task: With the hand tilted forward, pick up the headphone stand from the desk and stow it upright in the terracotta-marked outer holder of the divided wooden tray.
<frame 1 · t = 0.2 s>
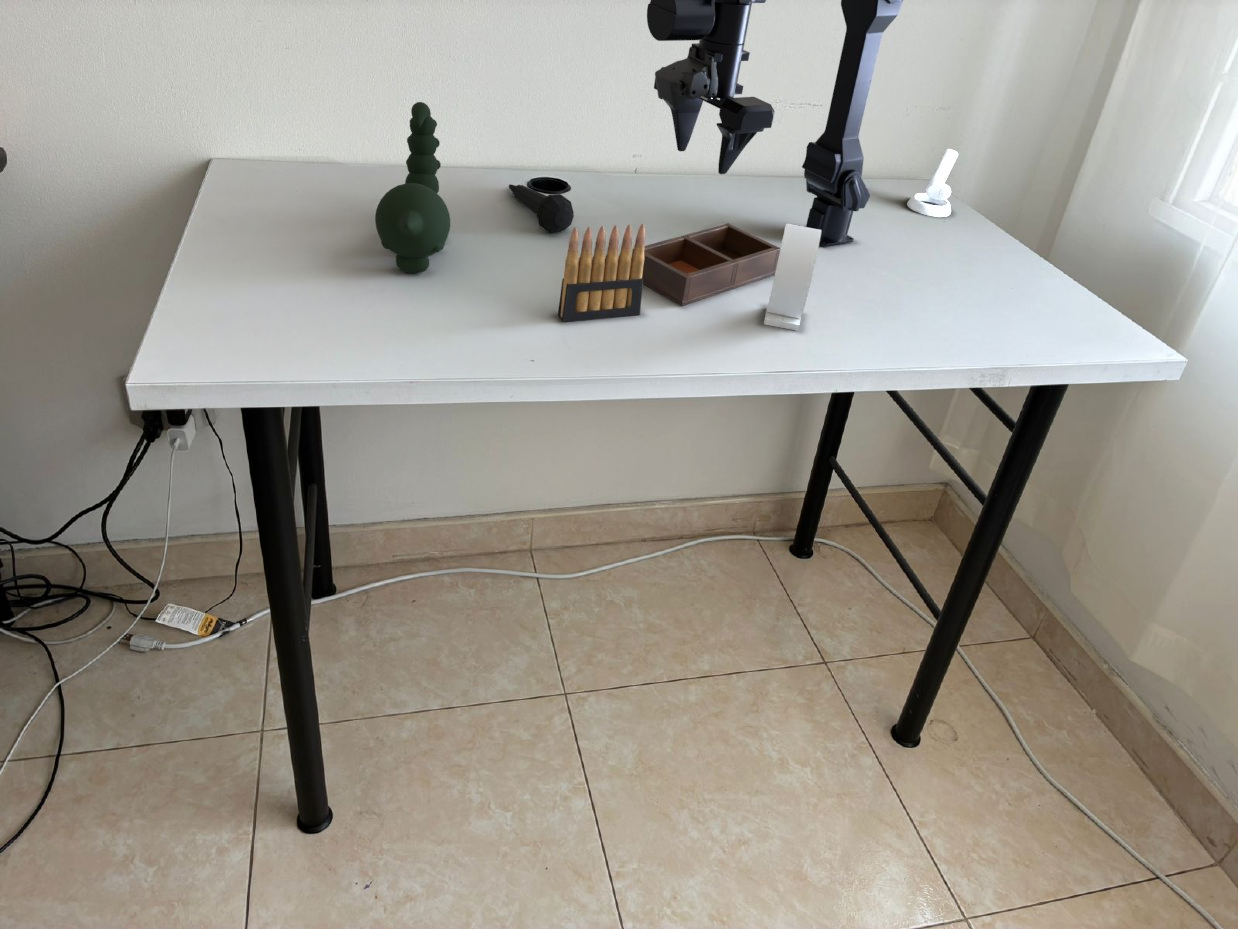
hand: (701, 161, 128), 15 cm above the table, tool pointing down, fingers open, 9 cm apart
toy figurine: (417, 252, 130), on the table
headphone stand: (781, 322, 125), on the table
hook: (928, 209, 168), on the table
divided wooden tray: (703, 275, 134), on the table
ammunition clip: (599, 316, 120), on the table
microphone: (539, 214, 145), on the table
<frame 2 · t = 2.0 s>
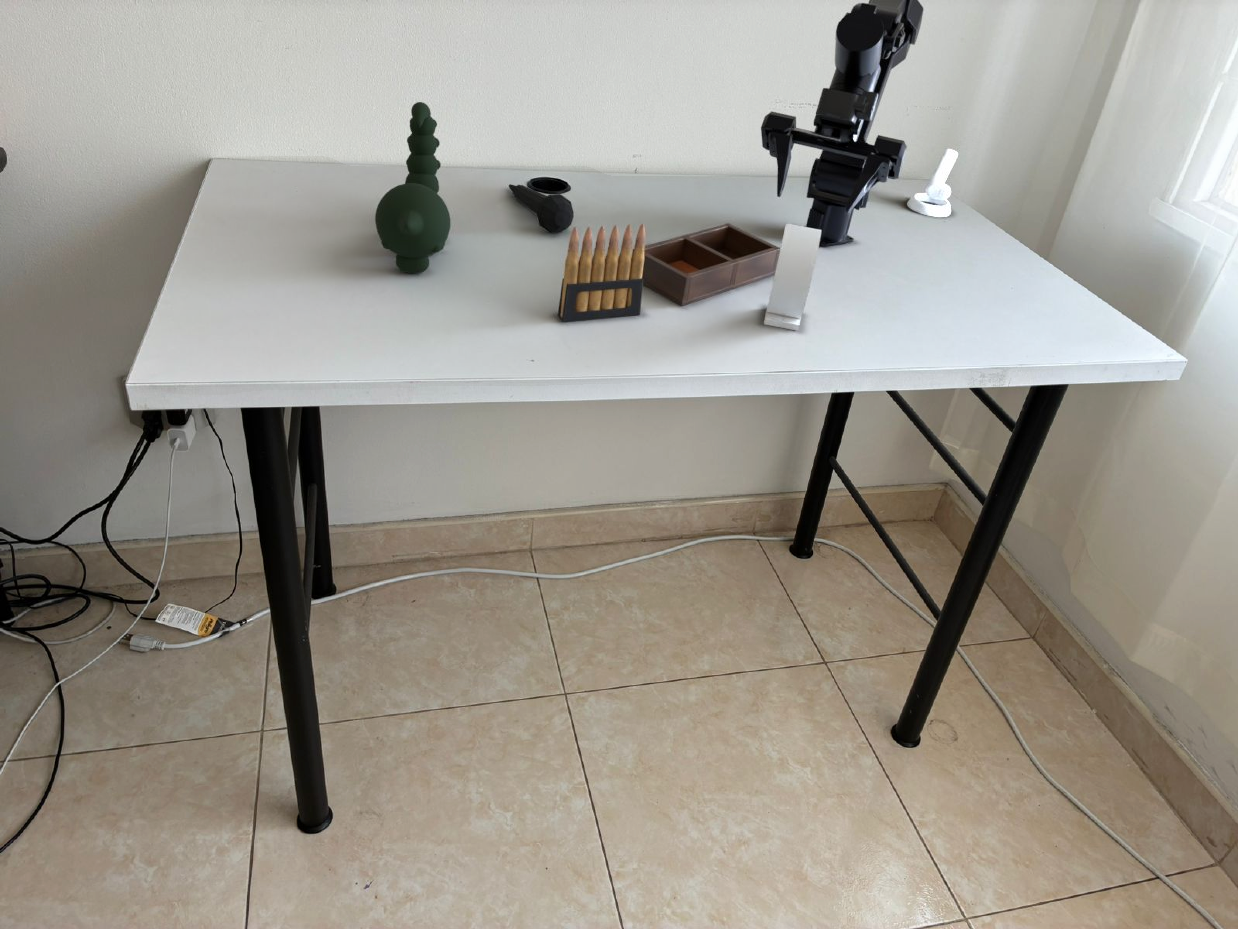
hand: (812, 203, 123), 13 cm above the table, tool tilted 45°, fingers open, 9 cm apart
nothing on the table moved.
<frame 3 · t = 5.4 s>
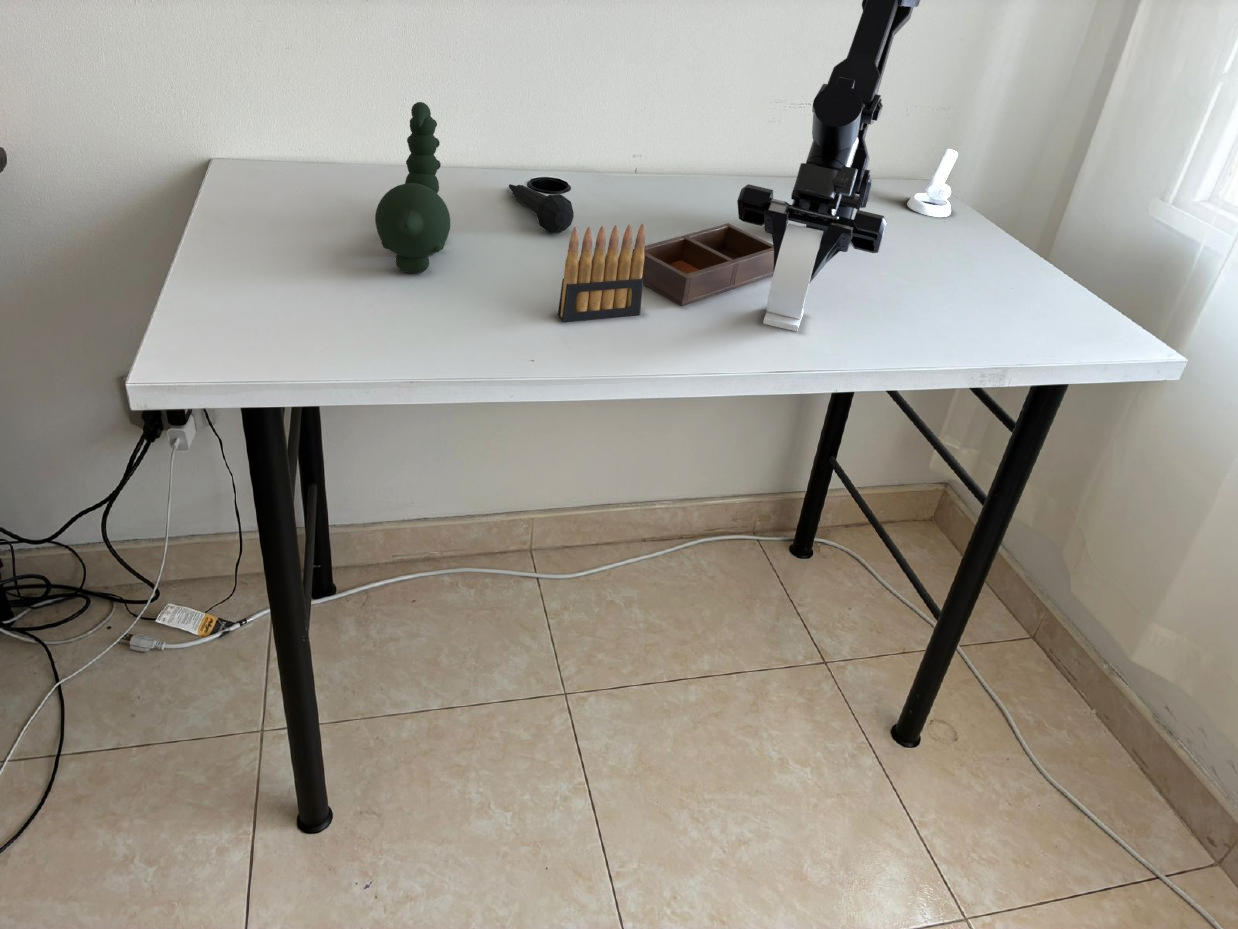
hand: (790, 278, 120), 7 cm above the table, tool tilted 45°, fingers closed on headphone stand, 4 cm apart
headphone stand: (782, 322, 125), on the table, touching gripper
everything else where it was.
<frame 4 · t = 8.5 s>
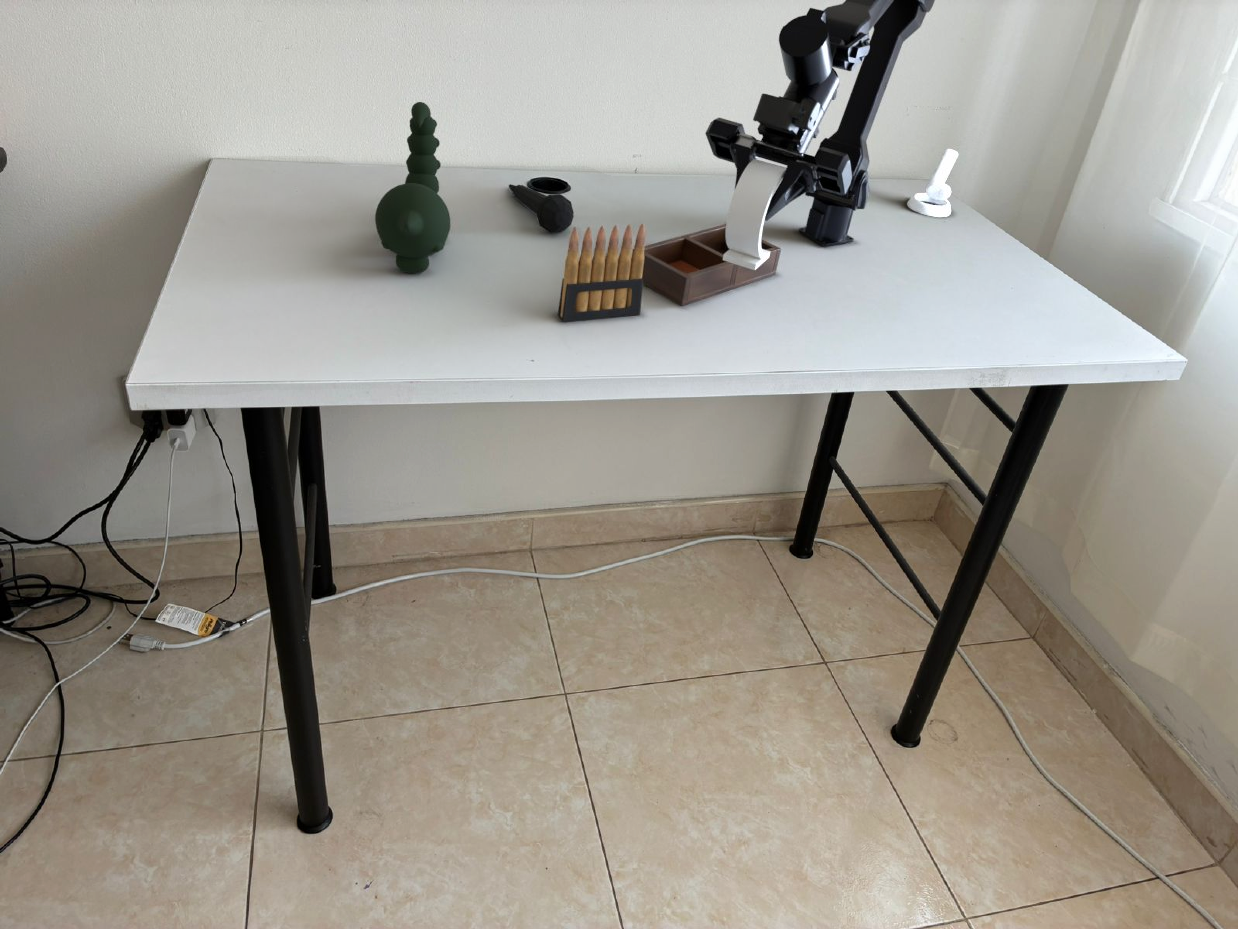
hand: (749, 214, 118), 13 cm above the table, tool tilted 45°, fingers closed on headphone stand, 4 cm apart
headphone stand: (744, 261, 123), point 6 cm above the table, touching gripper
everything else where it was.
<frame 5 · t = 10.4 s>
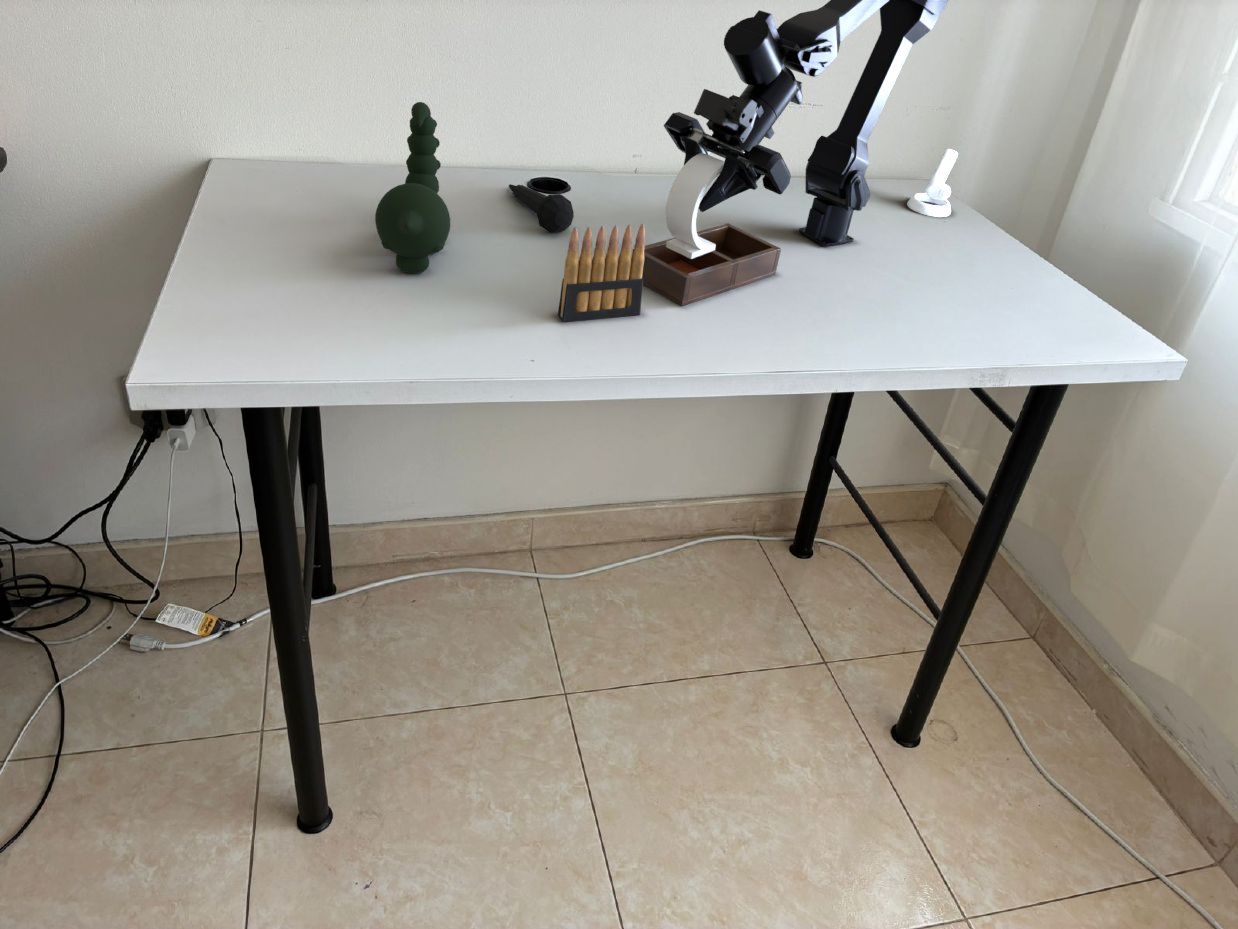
hand: (688, 204, 123), 12 cm above the table, tool tilted 45°, fingers closed on headphone stand, 4 cm apart
headphone stand: (687, 250, 128), point 5 cm above the table, touching gripper
everything else where it was.
when the fingers open (7 cm above the table, at t = 11.9 s): headphone stand stays where it is, resting on divided wooden tray.
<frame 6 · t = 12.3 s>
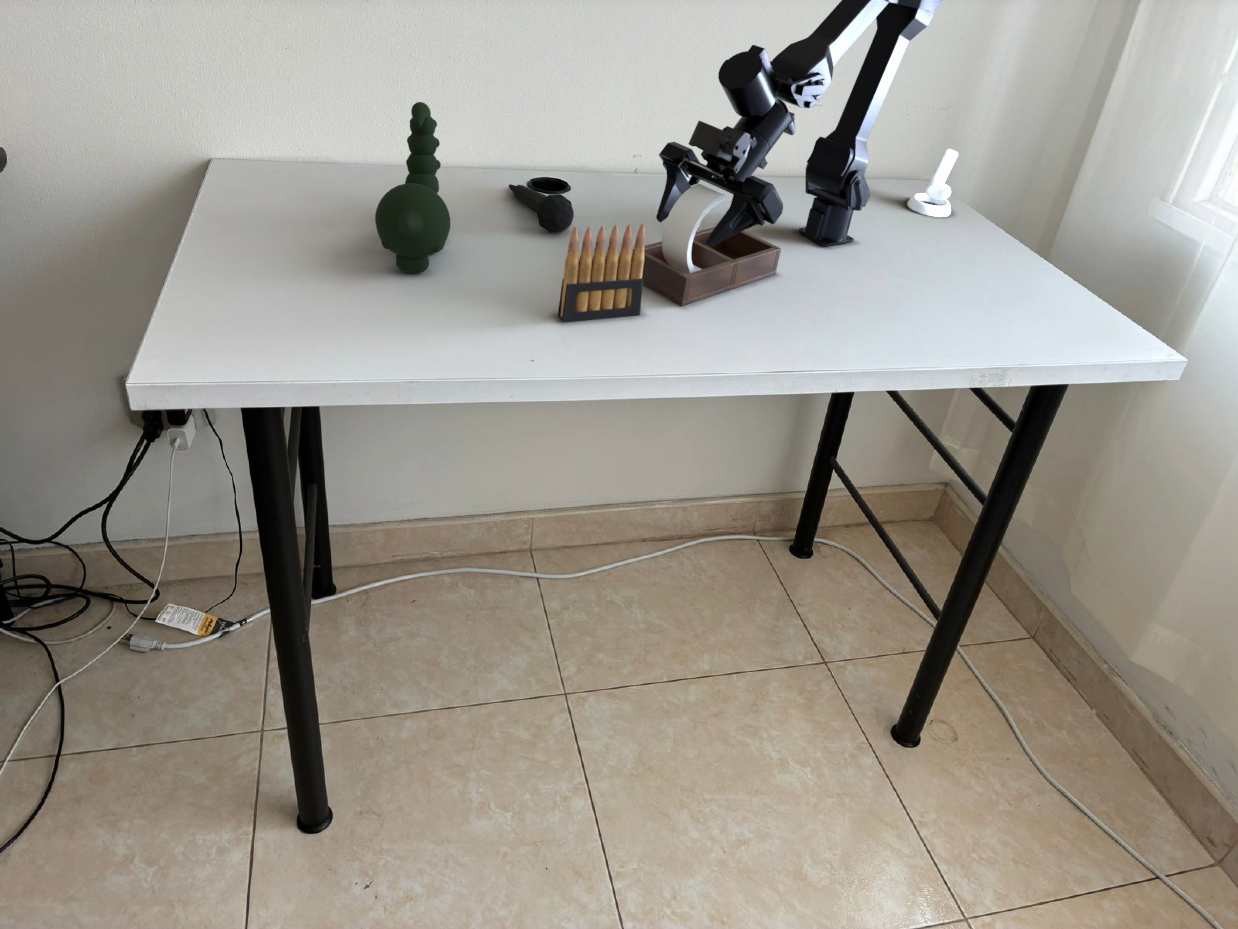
hand: (682, 232, 125), 8 cm above the table, tool tilted 45°, fingers open, 9 cm apart
headphone stand: (682, 278, 131), point 1 cm above the table, touching divided wooden tray
everything else where it was.
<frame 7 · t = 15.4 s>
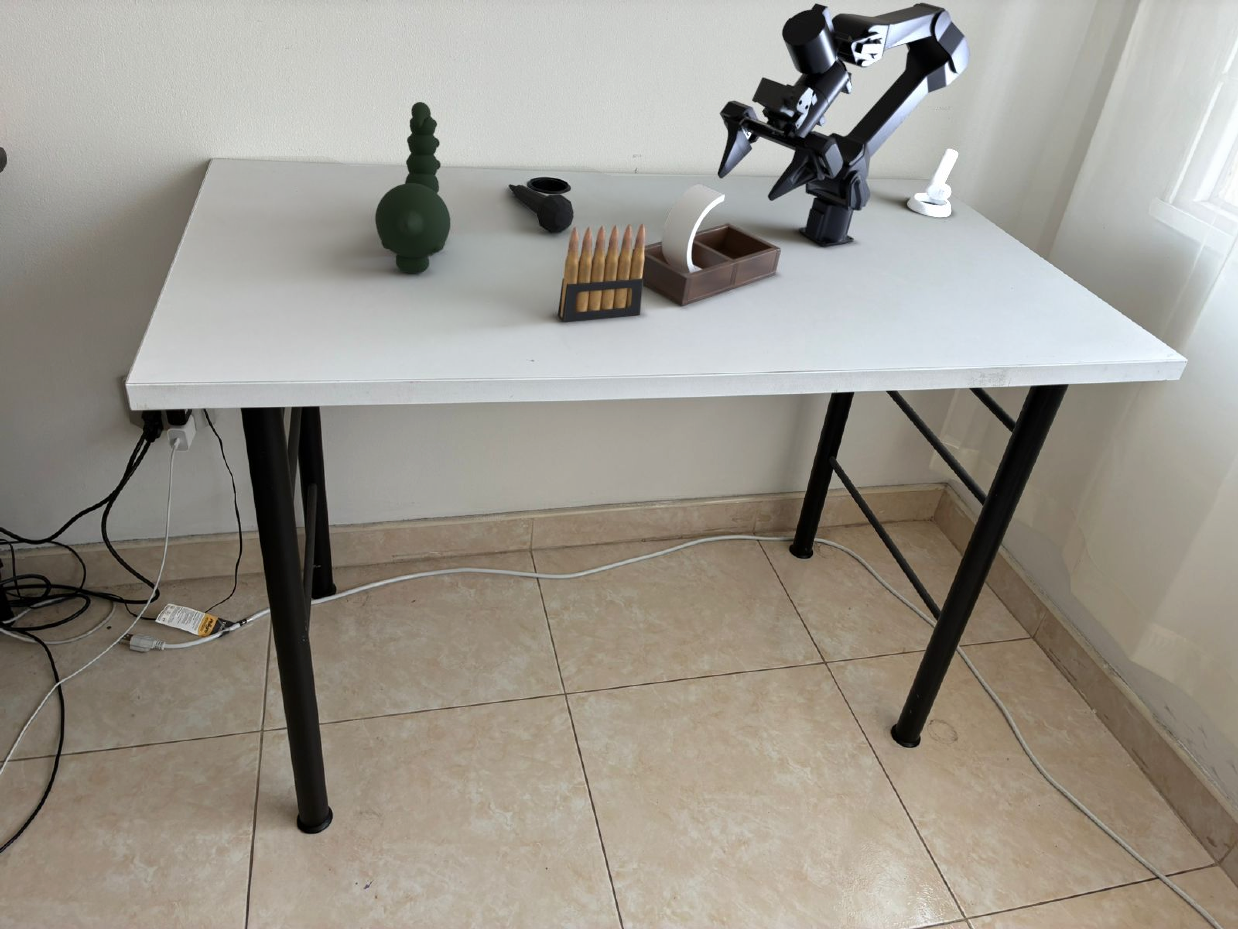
hand: (743, 187, 130), 12 cm above the table, tool tilted 45°, fingers open, 9 cm apart
nothing on the table moved.
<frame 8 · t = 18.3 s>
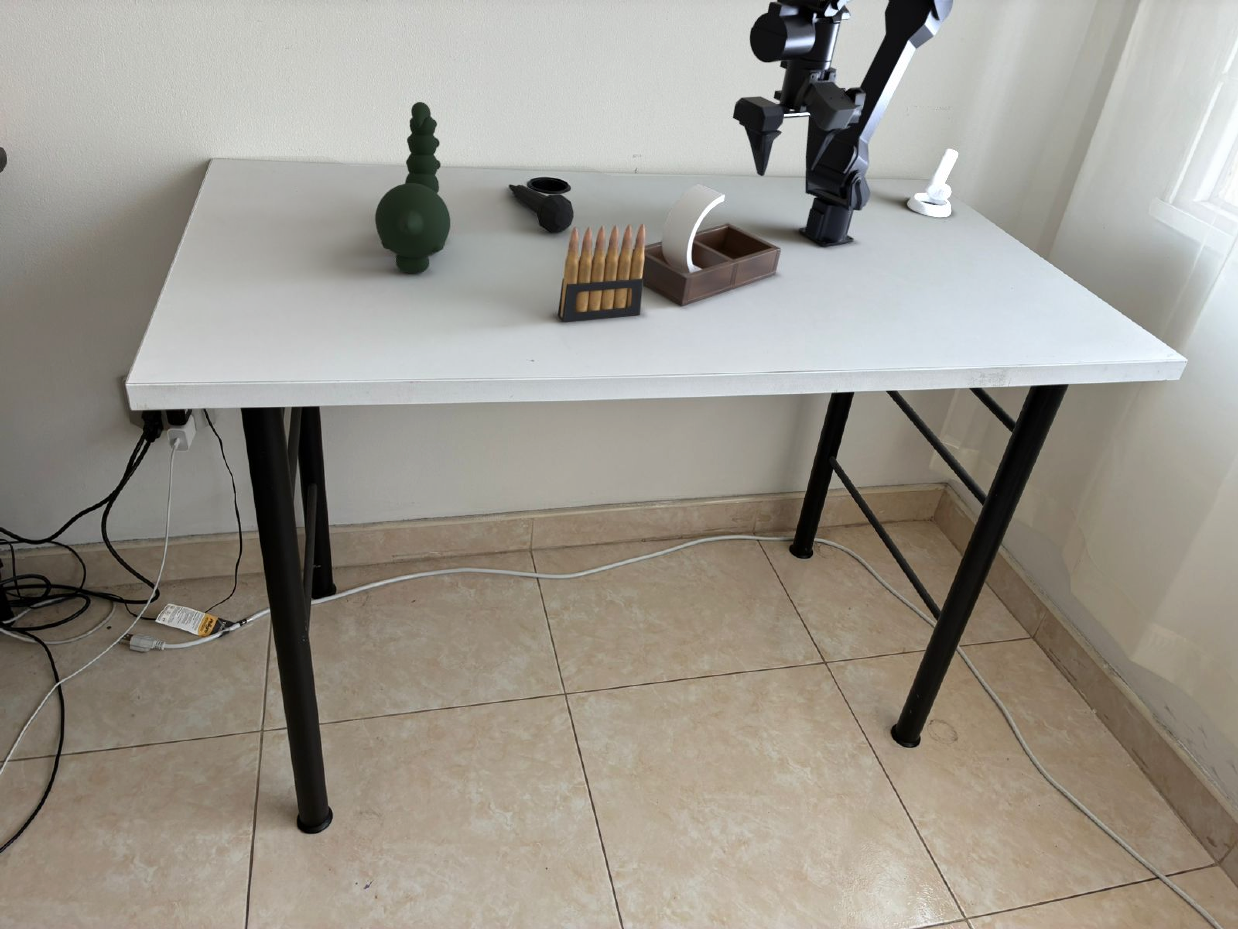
hand: (785, 172, 134), 13 cm above the table, tool pointing down, fingers open, 9 cm apart
nothing on the table moved.
at the end: headphone stand 0.1 cm from the target spot in the divided wooden tray, point 0.6 cm above the divided wooden tray's base; headphone stand tilted 0°; the gripper is holding nothing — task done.
